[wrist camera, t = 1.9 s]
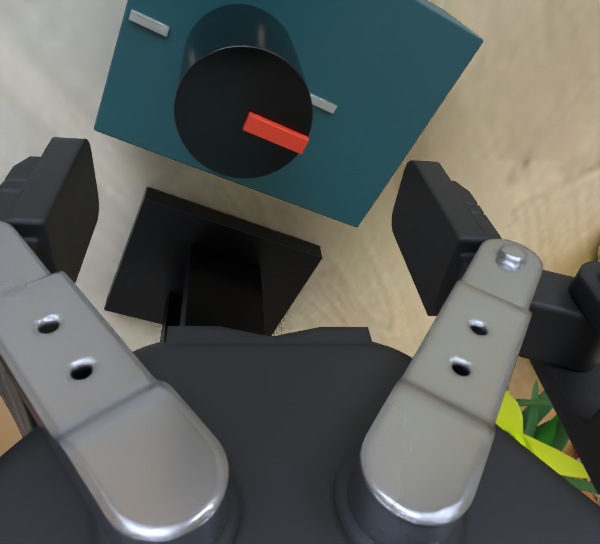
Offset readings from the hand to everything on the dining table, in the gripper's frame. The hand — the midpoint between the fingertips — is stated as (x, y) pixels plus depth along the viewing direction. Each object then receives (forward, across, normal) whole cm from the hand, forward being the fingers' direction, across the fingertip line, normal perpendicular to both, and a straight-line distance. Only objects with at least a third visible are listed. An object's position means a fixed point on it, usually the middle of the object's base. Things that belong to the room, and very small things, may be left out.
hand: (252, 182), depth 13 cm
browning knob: (+9, 0, 0) cm, 9 cm away
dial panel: (+14, -2, +1) cm, 14 cm away
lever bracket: (+14, +1, +14) cm, 20 cm away
